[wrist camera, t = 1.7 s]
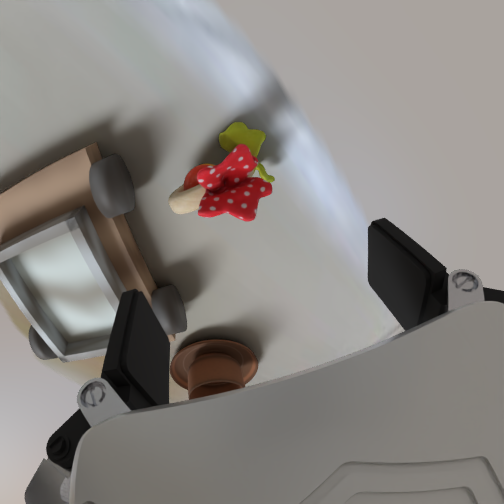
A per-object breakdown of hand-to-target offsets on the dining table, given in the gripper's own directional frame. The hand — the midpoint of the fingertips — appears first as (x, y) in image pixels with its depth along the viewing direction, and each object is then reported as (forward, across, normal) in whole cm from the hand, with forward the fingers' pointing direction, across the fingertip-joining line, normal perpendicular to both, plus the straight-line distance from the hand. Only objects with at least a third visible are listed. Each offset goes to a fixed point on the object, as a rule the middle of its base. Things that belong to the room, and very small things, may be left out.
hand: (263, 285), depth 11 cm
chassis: (+17, +18, +4) cm, 25 cm away
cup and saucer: (+18, +8, +24) cm, 31 cm away
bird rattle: (+17, 0, -1) cm, 17 cm away
